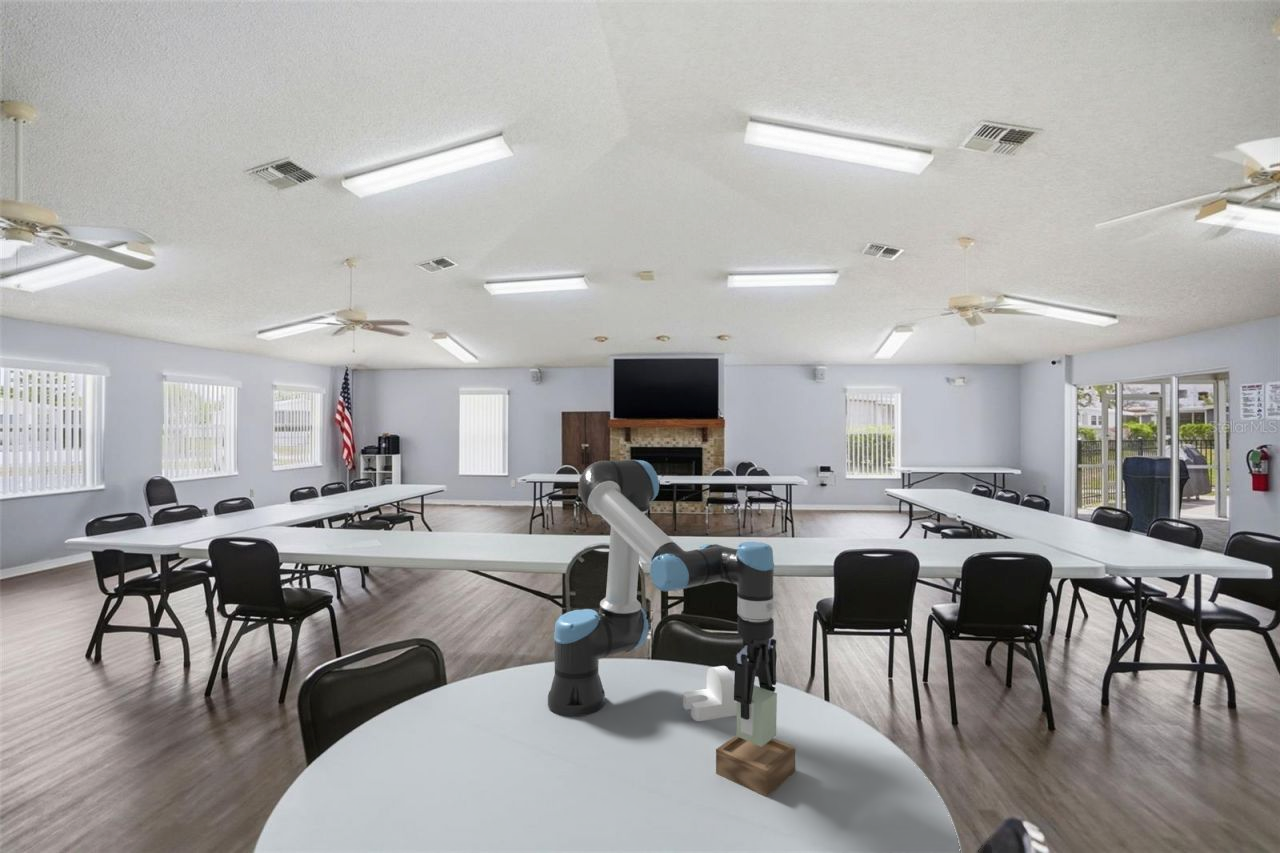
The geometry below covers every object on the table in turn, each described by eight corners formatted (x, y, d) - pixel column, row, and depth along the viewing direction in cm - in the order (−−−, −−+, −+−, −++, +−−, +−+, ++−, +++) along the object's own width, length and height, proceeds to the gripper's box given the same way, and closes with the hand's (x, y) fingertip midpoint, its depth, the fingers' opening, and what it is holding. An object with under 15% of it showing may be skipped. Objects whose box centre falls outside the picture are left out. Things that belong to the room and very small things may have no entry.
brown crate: (716, 773, 122) (716, 749, 122) (746, 750, 131) (746, 728, 131) (766, 796, 114) (766, 771, 114) (795, 771, 123) (795, 747, 123)
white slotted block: (681, 705, 153) (681, 664, 153) (742, 697, 159) (742, 657, 159) (695, 722, 144) (695, 679, 144) (760, 712, 149) (760, 670, 150)
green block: (736, 736, 122) (737, 693, 122) (751, 725, 126) (752, 684, 126) (761, 747, 118) (762, 702, 118) (776, 735, 122) (776, 693, 122)
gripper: (747, 631, 113) (747, 751, 113) (792, 610, 127) (793, 716, 127) (715, 623, 118) (715, 738, 118) (762, 604, 132) (763, 706, 132)
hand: (755, 726), depth 122 cm, fingers closed on green block, 6 cm apart
